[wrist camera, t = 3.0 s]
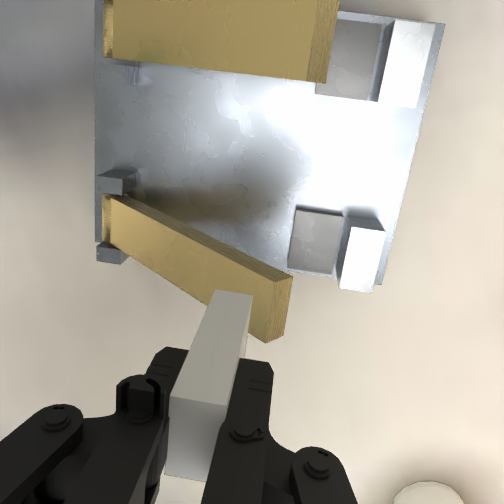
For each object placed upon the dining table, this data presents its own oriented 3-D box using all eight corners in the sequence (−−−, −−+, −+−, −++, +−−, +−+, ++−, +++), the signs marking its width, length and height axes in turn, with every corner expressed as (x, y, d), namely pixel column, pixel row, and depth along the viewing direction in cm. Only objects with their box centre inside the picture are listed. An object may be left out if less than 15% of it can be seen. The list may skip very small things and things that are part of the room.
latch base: (116, 228, 36) (76, 259, 29) (120, -11, 30) (71, -38, 23) (371, 266, 35) (388, 307, 28) (427, 26, 29) (464, 9, 22)
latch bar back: (119, 233, 31) (97, 236, 30) (120, 190, 30) (97, 192, 29) (285, 334, 21) (262, 345, 20) (296, 275, 20) (271, 283, 19)
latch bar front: (123, 59, 27) (97, 56, 26) (124, 3, 26) (97, -3, 25) (328, 84, 17) (302, 80, 16) (343, -5, 16) (316, -15, 15)
